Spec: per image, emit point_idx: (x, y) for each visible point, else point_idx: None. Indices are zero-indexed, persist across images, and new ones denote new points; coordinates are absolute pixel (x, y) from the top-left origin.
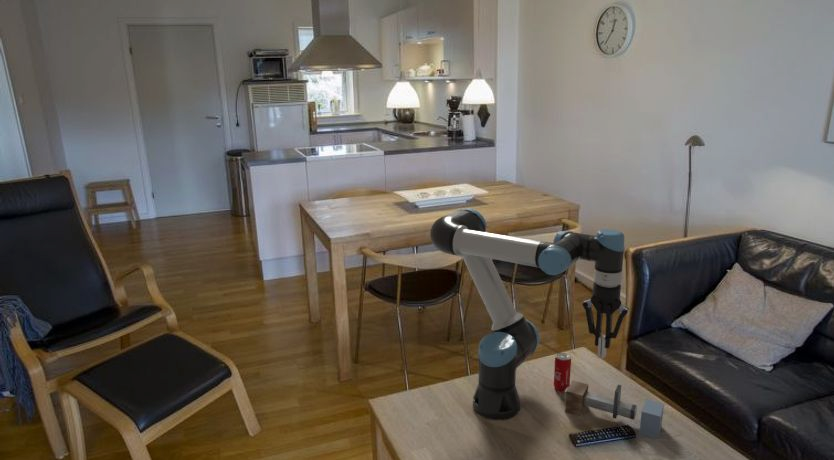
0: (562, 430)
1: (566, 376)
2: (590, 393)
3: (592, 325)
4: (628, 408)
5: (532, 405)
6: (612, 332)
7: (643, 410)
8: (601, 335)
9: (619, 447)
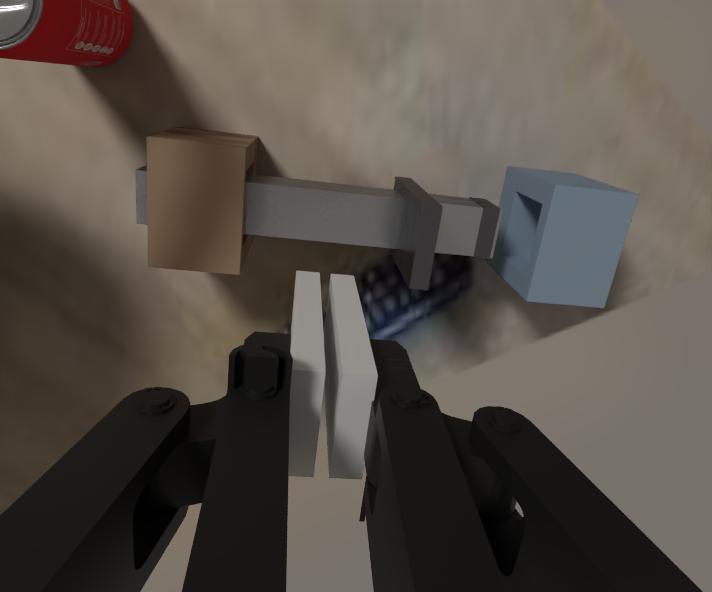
0: (205, 355)
1: (91, 49)
2: (270, 191)
3: (136, 577)
4: (462, 250)
5: (24, 241)
6: (461, 456)
7: (535, 289)
8: (303, 409)
9: (417, 364)
